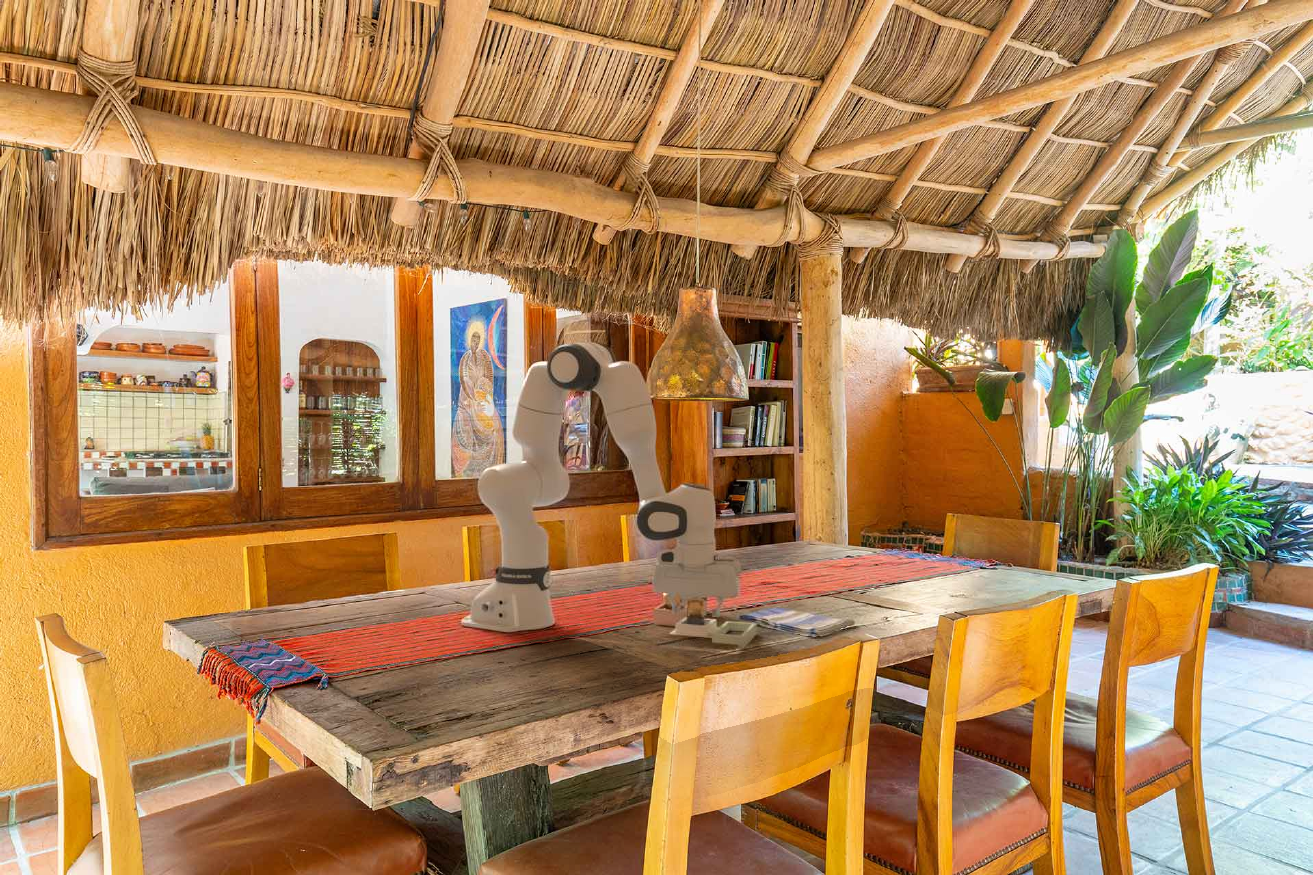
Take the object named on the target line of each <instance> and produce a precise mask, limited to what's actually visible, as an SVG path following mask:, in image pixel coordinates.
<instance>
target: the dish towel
mask: <svg viewBox="0 0 1313 875" xmlns="http://www.w3.org/2000/svg"><path fill="white" fill-rule="evenodd" d="M739 620H744V621H750V622H752V623H758V624H756V627H761V628H766V629H769V628H771V629H770V630H774V629H775V630H774V631H779V632H782V631H783V633H786V632H791V633H794V634H793V635H797V634H800V635H799V636H801V635H804V636H803V637H807V636H810V637H813V638H812V639H815V638H814V637H815V636H820V635H823V634H827V633H830V632H834V631H836V630H840V629H841V628H846V627H847V626H852V625H854V624H855V625H856V622H855V620H854V619H852V618H834V617H831V616H824V615H820V614H813V613H808V612H805V611H795V610H792V609H787V608H781V607H771V608H766V609H762V610H757V611H755V612H750V613H743V614H740V615H739ZM791 633H790V634H791ZM810 637H809V638H810Z"/></svg>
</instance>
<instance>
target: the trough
mask: <svg viewBox="0 0 1313 875" xmlns="http://www.w3.org/2000/svg"><path fill="white" fill-rule="evenodd" d="M729 631H733V632H737V631H738V632H742V633H741V635H740V634H730V633H729V634H728V632H729ZM726 633H727V634H726ZM756 635H757V622H741V621H728V620H726V621H725V622H724V623H722V625H720V626H719V628H718V629H717V630H716V631H715V632H714V633H713V634H712V638H711V643H713V644H723V645H724V644H726V645H737V647H735V648H736V649H742V648H744V647H745V648H746V646H747V645H749V643H750V642H752V640H753V639H754V638H755V637H756ZM754 636H755V637H754ZM745 648H744V649H745Z"/></svg>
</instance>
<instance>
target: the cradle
mask: <svg viewBox="0 0 1313 875" xmlns="http://www.w3.org/2000/svg"><path fill="white" fill-rule="evenodd" d="M674 627H675V629H673V630H672V631H670V632H669V635H675V636H686V637H698V638H710V639H712V634H713V633H714V632H715V631H716V630H717V629H718V628H719V627H720V626H719V627H717V619H715V618H714V619H713V618H705V625H694V624H687V617H685V618H683V619H682V620H680V621H679V622H678V623H676V624H675V626H674Z"/></svg>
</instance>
